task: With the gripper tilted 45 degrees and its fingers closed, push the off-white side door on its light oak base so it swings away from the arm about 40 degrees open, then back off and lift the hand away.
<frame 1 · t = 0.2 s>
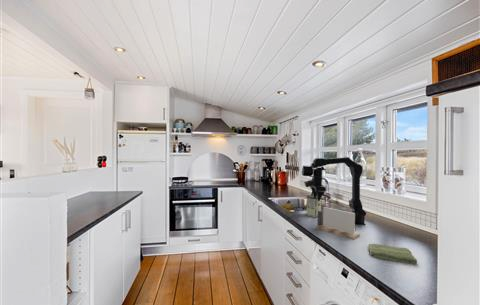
hand: (316, 199, 152), 15 cm above the counter, tool pointing down, fingers open, 9 cm apart
washcloth: (390, 256, 103), on the counter
door base: (322, 227, 138), on the counter
glass jar: (313, 215, 167), on the counter
door: (337, 219, 132), point 7 cm above the counter, hinge at 0.0°
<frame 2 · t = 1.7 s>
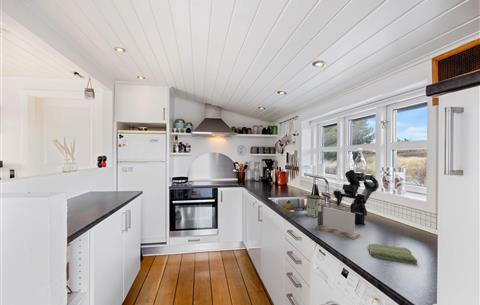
hand: (344, 207, 137), 13 cm above the counter, tool tilted 45°, fingers open, 9 cm apart
nothing on the counter moved.
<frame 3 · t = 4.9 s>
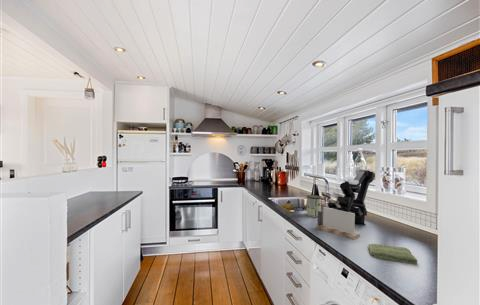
hand: (339, 220, 131), 7 cm above the counter, tool tilted 45°, fingers closed, pressing on door
door: (337, 219, 131), point 7 cm above the counter, hinge at 0.8°, touching gripper
everything else where it was.
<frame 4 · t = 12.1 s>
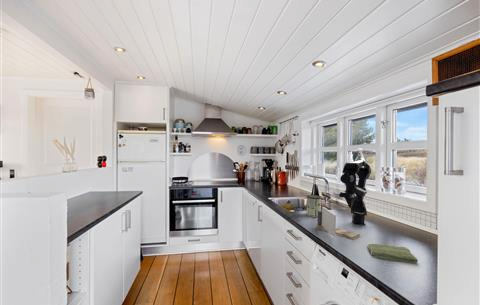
hand: (350, 207, 138), 13 cm above the counter, tool pointing down, fingers closed
door: (328, 220, 129), point 7 cm above the counter, hinge at 42.0°
everything else where it was.
at the end: door at +42° (first picture: +0°); glass jar moved 0.2 cm from its start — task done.
